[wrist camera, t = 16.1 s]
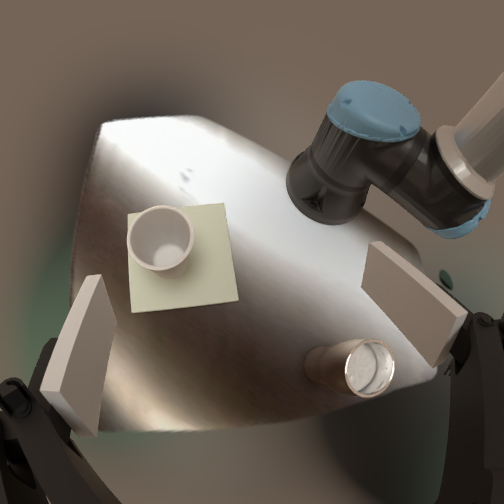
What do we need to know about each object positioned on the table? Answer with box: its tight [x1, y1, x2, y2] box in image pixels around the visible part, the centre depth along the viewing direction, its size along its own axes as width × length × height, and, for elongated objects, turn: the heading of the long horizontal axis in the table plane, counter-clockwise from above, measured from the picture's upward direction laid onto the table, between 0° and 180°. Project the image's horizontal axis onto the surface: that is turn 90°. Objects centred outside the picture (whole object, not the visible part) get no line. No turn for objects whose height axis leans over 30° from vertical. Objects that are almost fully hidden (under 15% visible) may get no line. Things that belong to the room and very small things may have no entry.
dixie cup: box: [127, 206, 194, 279], centre depth 38 cm, size 8×8×10 cm
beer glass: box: [304, 339, 395, 398], centre depth 34 cm, size 7×7×15 cm
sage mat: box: [128, 203, 239, 313], centre depth 43 cm, size 16×16×1 cm
